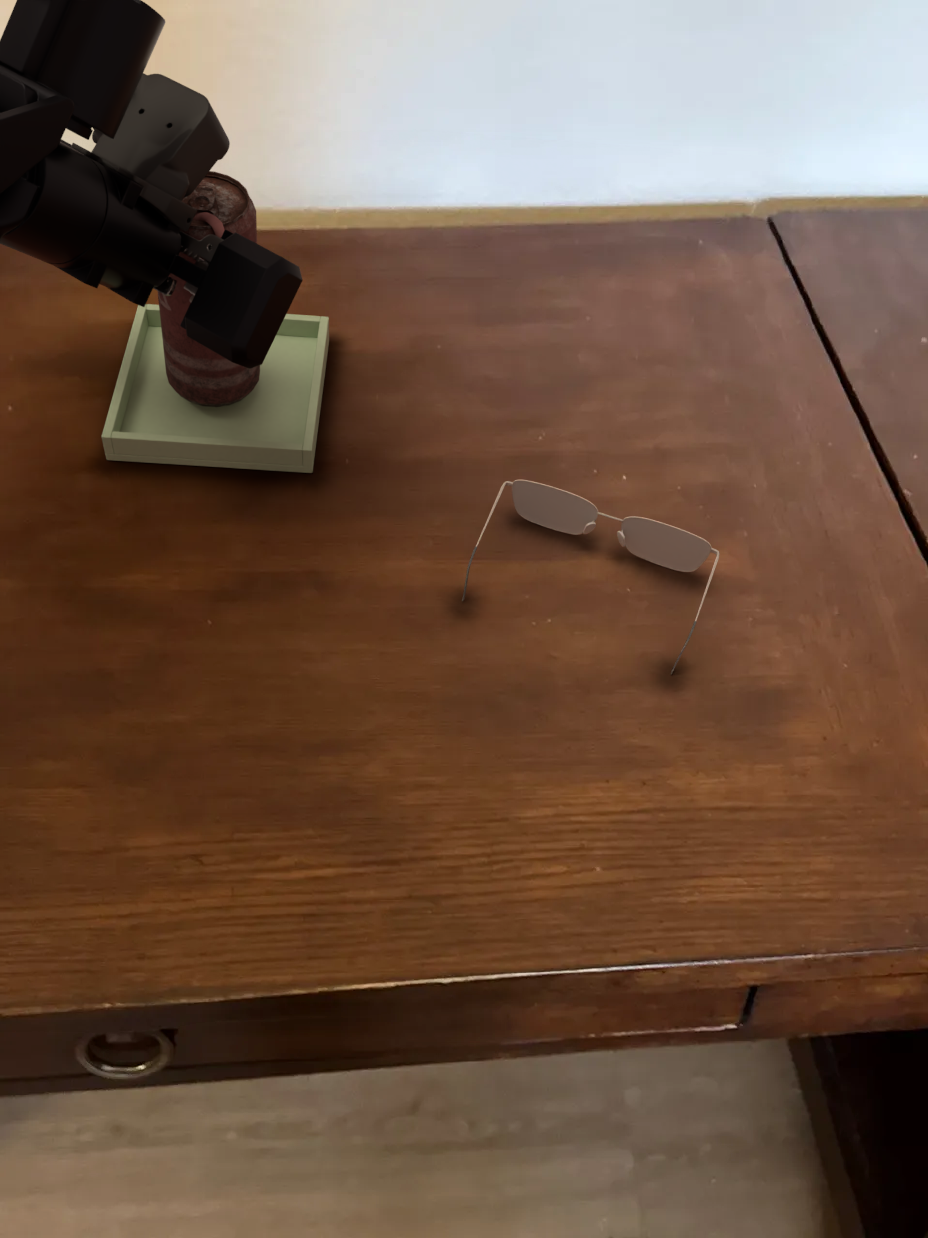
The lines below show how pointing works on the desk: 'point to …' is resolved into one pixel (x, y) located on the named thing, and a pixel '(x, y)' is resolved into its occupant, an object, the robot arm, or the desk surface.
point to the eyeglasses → (635, 534)
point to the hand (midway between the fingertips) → (225, 285)
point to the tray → (228, 435)
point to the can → (185, 359)
